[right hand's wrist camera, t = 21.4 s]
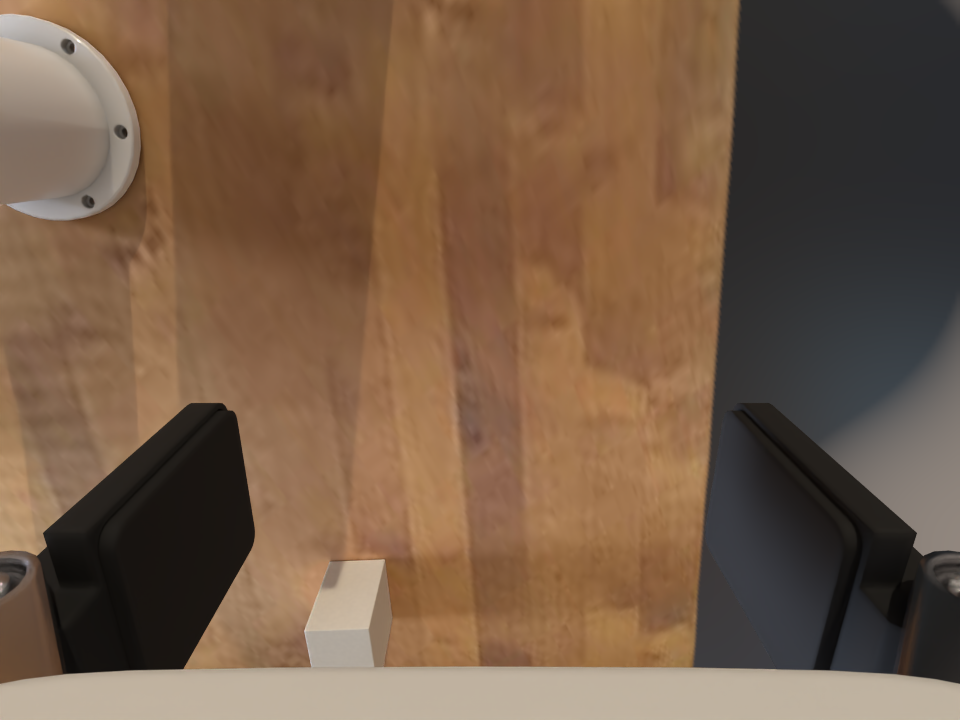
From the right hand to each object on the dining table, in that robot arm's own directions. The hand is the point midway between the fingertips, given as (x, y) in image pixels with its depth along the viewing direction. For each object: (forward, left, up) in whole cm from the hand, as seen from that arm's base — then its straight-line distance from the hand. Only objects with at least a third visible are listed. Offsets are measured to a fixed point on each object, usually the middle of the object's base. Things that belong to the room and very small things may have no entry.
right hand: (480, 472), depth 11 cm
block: (-8, -33, -32) cm, 47 cm away
